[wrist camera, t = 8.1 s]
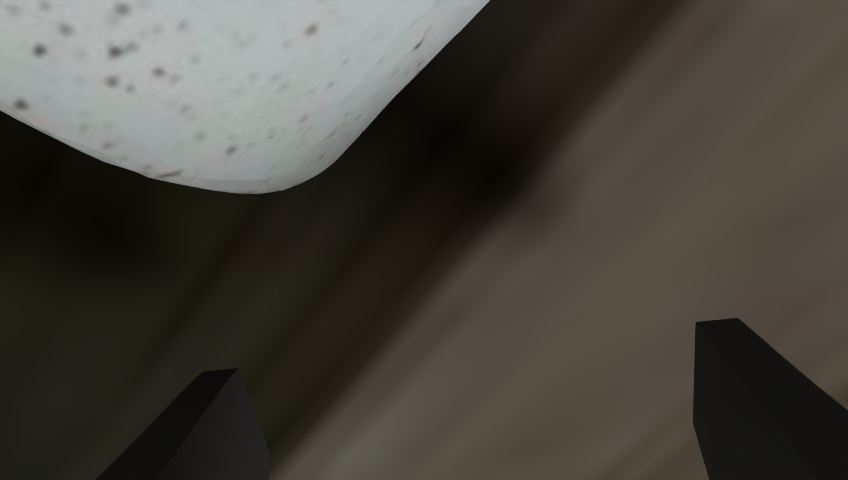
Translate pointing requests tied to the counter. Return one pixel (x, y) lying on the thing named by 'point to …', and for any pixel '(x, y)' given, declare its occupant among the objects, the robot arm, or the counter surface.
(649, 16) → the counter surface
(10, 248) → the counter surface
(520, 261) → the counter surface
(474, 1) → the ceramic mug
